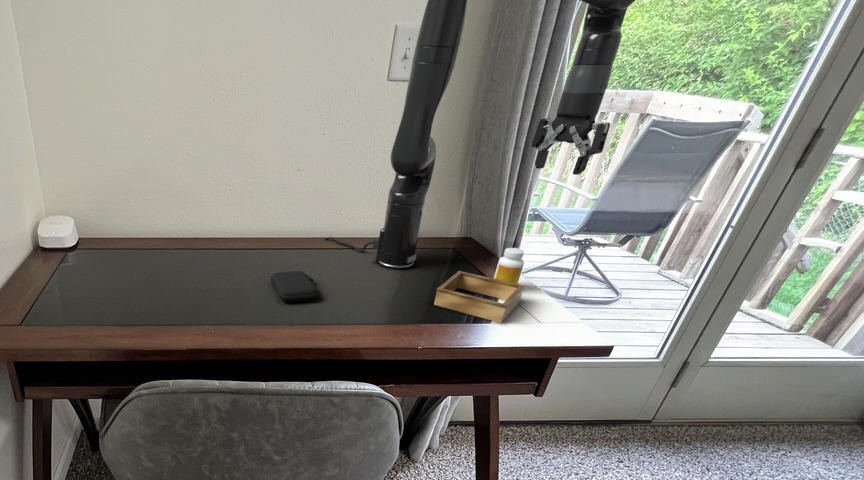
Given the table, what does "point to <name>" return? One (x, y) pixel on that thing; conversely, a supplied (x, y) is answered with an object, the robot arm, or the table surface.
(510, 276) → the supplement bottle
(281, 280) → the carrying case
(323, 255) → the table surface
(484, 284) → the wooden box frame
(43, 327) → the table surface
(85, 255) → the table surface
